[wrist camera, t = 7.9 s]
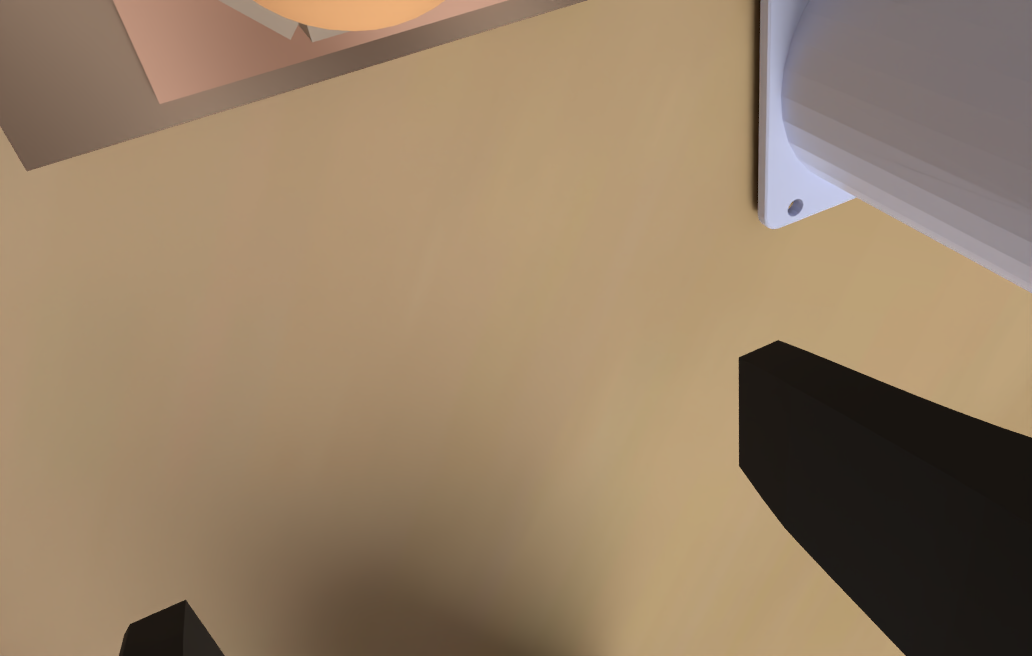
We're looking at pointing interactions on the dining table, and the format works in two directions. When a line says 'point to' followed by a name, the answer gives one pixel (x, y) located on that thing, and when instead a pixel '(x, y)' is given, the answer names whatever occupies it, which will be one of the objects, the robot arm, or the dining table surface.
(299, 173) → the dining table surface
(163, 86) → the rack
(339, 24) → the ball
